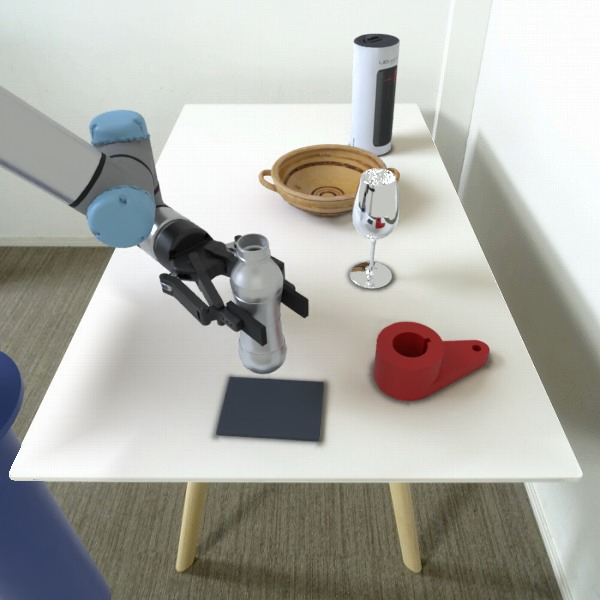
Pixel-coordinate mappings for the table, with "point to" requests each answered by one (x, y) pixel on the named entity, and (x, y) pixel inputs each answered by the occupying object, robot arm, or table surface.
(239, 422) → the mat
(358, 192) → the wineglass
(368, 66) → the speaker
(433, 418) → the table surface
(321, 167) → the ceramic bowl
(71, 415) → the table surface
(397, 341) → the lever
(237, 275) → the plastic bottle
